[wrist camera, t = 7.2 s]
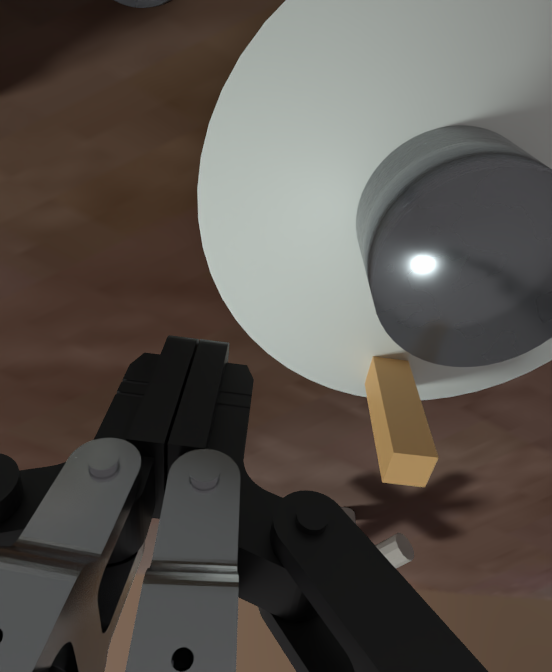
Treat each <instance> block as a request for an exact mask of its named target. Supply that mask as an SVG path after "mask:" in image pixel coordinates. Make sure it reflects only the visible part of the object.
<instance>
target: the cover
mask: <svg viewBox="0 0 552 672" xmlns="http://www.w3.org/2000/svg"><path fill="white" fill-rule="evenodd" d="M356 233H357V240H358V243H359V247H360V251H361V255H362V259H363V263H364V267H365V271H366V275H367V279H368V283H369V287H370V291H371V295H372V298H373V302H374V306H375V310H376V314H377V316H378V318H379V321H380V323H381V325H382V326H383V328H384V330H385V331H386V333H387V334H388V335H389V336H390V337H391V339H392V340H393V341H394V342H395V343H396V344H397V345H399V346H400V347H401V348H402V349H404V350H405V351H407V352H408V353H410V354H412V355H413V356H415V357H418V358H420V359H422V360H424V361H428V362H431V363H434V364H438V365H444V366H451V367H477V366H485V365H490V364H495V363H499V362H503V361H506V360H509V359H512V358H515V357H517V356H519V355H522V354H524V353H527V352H528V351H530V350H532V349H534V348H536V347H538V346H540V345H541V344H543V343H544V342H546V341H547V340H549V339H550V338H552V169H551V168H549V167H548V166H546V165H545V164H543V163H542V162H540V161H539V160H537V159H536V158H534V157H533V156H532V155H530V154H529V153H527V152H526V151H524V150H523V149H521V148H520V147H518V146H517V145H515V144H514V143H512V142H511V141H510V140H508V139H506V138H505V137H503V136H501V135H500V134H498V133H496V132H493V131H491V130H488V129H485V128H481V127H476V126H467V125H457V126H447V127H441V128H436V129H433V130H430V131H427V132H424V133H422V134H420V135H418V136H415V137H413V138H411V139H410V140H408V141H406V142H405V143H403V144H402V145H400V146H399V147H398V148H396V149H395V150H394V151H392V152H391V153H390V154H389V155H388V156H387V157H386V158H385V159H384V160H383V161H382V162H381V163H380V164H379V166H378V167H377V168H376V169H375V171H374V172H373V173H372V175H371V177H370V178H369V180H368V182H367V183H366V185H365V188H364V190H363V192H362V194H361V198H360V201H359V204H358V209H357V215H356Z"/></svg>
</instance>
